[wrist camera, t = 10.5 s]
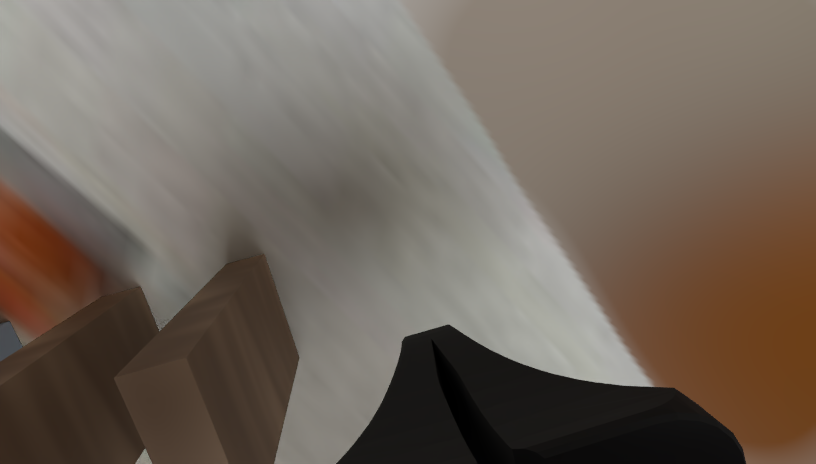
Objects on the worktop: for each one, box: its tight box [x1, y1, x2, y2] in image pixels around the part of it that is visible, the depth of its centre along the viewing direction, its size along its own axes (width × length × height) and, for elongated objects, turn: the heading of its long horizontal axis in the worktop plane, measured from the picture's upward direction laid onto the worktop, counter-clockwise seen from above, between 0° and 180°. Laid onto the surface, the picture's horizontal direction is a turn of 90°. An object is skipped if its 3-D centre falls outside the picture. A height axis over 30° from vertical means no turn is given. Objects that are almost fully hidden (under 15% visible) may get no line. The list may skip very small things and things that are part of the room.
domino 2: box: [114, 254, 299, 464], centre depth 15 cm, size 2×5×9 cm, turn 14°
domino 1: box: [0, 287, 159, 464], centre depth 14 cm, size 2×5×9 cm, turn 14°
